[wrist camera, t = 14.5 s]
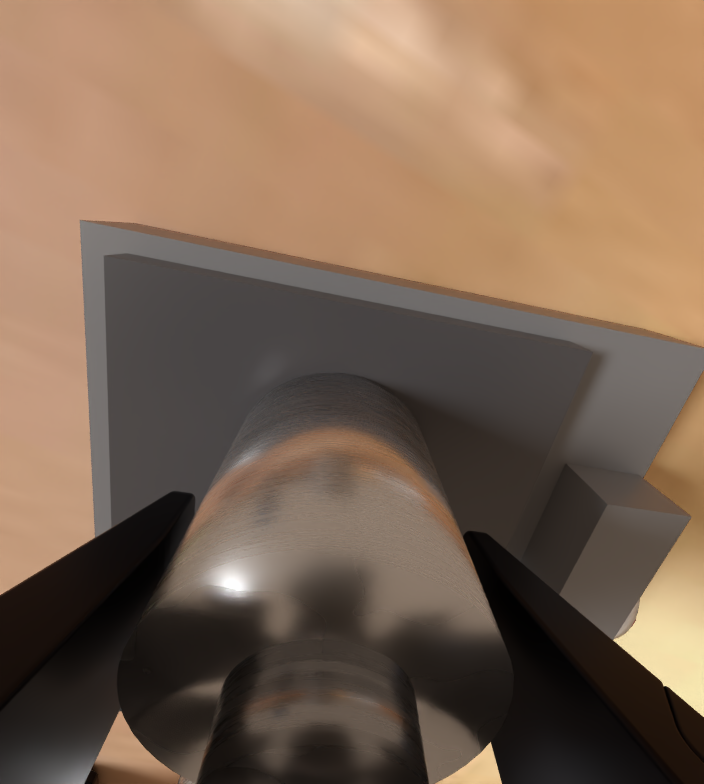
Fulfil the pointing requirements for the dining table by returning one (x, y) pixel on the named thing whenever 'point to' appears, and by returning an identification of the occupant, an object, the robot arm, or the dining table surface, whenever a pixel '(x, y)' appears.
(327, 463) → the weight
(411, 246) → the dining table surface
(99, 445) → the scale
